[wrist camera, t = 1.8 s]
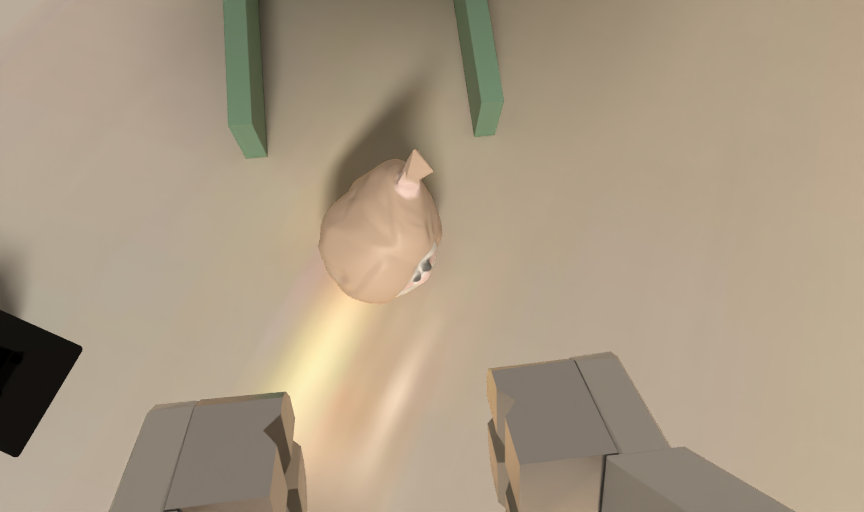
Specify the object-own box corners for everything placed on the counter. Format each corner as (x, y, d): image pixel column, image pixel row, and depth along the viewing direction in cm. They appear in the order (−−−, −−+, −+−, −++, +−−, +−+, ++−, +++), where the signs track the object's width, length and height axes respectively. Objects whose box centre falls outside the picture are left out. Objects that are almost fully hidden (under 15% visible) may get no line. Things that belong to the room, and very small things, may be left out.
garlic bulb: (460, 283, 37) (474, 238, 29) (352, 330, 36) (337, 296, 28) (412, 180, 39) (413, 113, 31) (307, 222, 38) (281, 163, 30)
